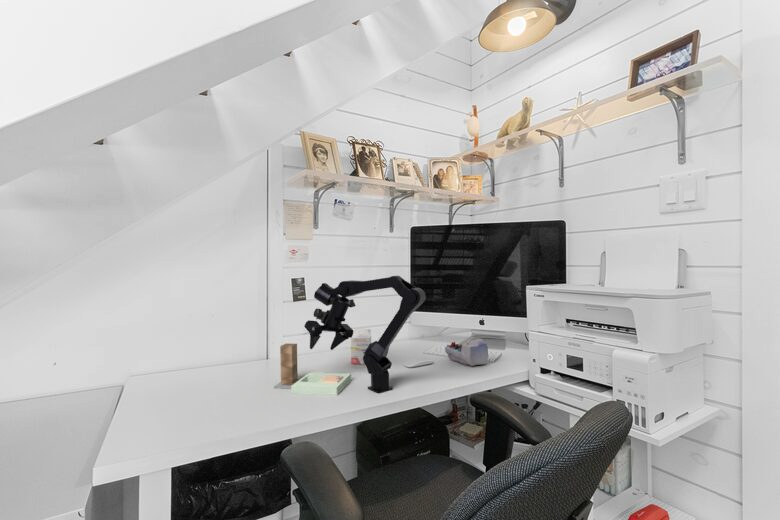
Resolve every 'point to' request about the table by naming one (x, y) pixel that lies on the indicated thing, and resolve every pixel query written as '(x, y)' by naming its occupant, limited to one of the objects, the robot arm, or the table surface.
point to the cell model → (468, 352)
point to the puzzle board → (321, 383)
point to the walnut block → (288, 364)
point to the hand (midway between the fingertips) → (321, 348)
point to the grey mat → (282, 386)
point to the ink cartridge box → (359, 345)
